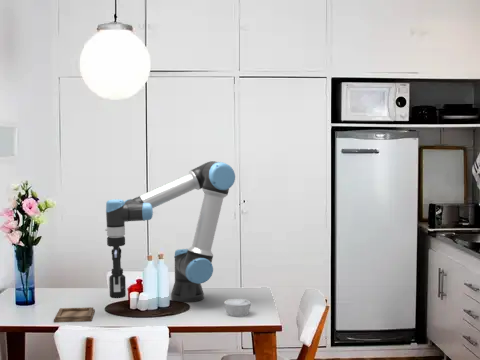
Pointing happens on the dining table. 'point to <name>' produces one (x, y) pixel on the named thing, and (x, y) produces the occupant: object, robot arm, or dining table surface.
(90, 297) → the dining table surface
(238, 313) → the ramekin
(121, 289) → the supplement bottle
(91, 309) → the walnut tray
